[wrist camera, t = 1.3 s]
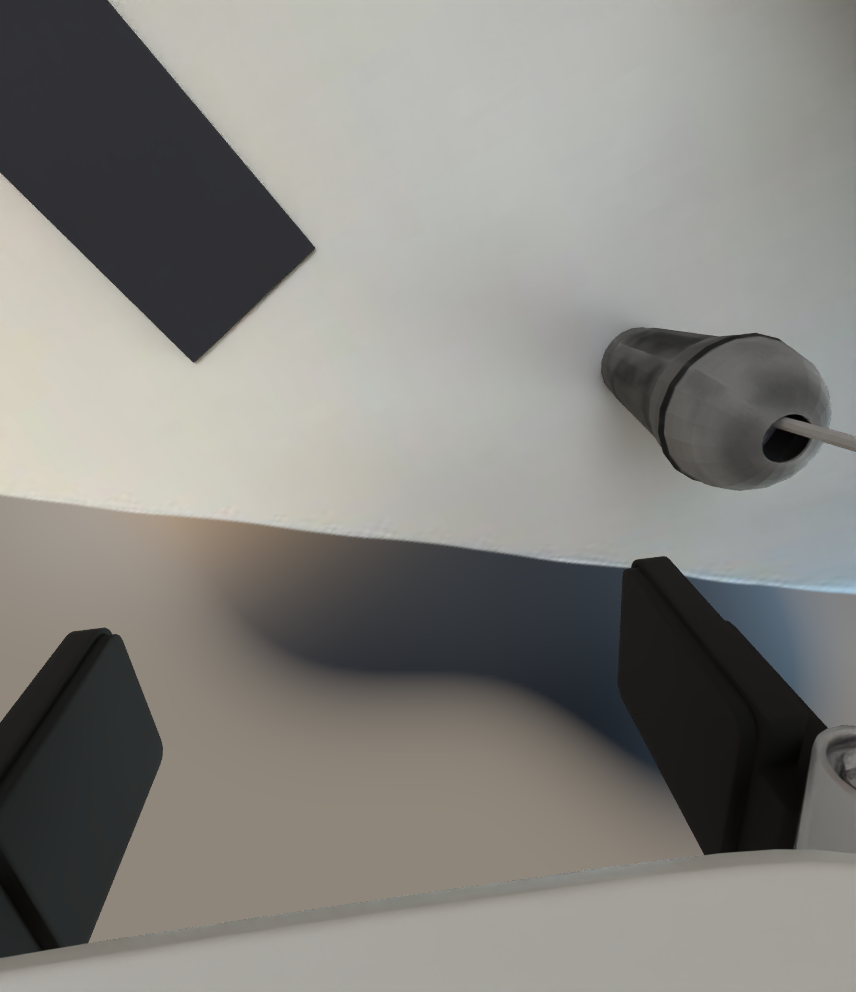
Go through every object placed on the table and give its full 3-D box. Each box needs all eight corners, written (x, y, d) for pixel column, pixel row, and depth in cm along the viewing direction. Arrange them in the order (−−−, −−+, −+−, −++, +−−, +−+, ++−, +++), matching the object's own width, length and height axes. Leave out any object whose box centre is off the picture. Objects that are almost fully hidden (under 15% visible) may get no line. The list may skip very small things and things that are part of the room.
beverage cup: (587, 429, 40) (768, 596, 22) (572, 321, 37) (767, 408, 18) (693, 401, 40) (965, 545, 21) (686, 291, 37) (997, 348, 18)
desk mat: (-38, -172, 26) (-43, -178, 25) (315, 248, 34) (314, 248, 33) (-167, 4, 28) (-174, 1, 27) (195, 361, 36) (193, 362, 35)
